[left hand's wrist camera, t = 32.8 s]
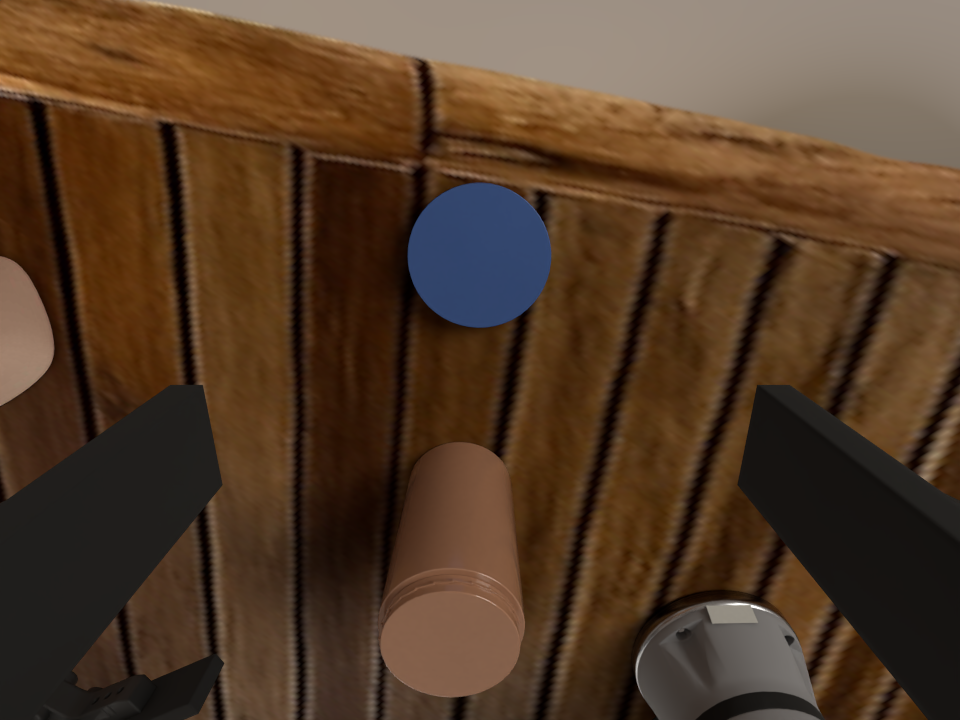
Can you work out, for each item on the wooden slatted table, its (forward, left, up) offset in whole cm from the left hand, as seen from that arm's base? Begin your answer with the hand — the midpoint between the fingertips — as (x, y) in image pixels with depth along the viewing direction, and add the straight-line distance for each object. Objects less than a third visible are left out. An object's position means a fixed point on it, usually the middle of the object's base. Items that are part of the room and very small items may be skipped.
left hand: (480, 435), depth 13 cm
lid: (0, 0, -26) cm, 26 cm away
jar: (-19, 0, -27) cm, 33 cm away
